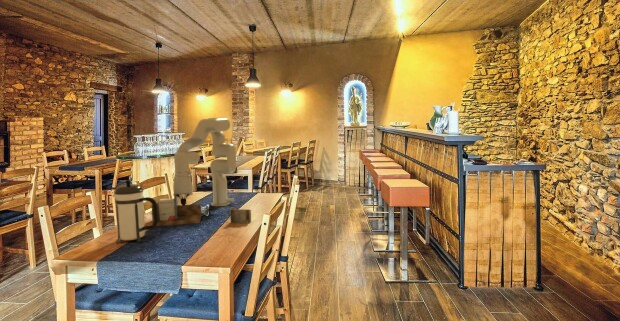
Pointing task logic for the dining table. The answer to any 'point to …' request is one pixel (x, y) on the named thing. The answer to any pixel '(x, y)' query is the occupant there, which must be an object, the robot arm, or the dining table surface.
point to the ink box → (166, 209)
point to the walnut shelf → (190, 210)
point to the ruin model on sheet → (240, 215)
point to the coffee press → (132, 212)
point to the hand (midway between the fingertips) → (183, 205)
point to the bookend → (176, 203)
